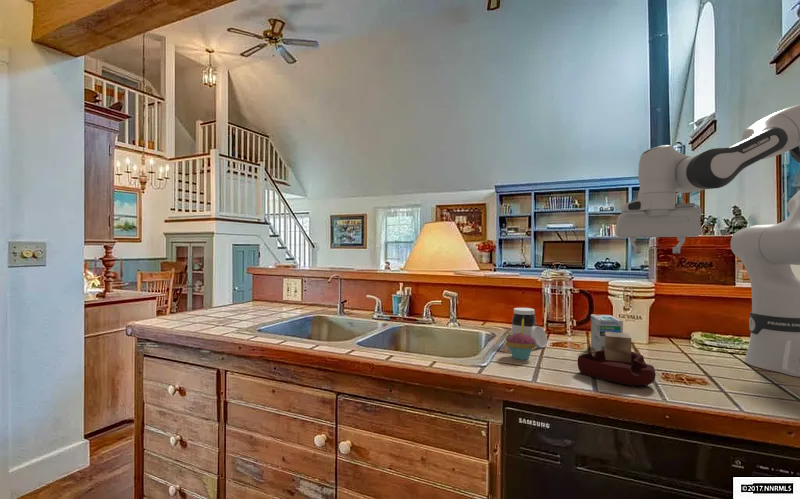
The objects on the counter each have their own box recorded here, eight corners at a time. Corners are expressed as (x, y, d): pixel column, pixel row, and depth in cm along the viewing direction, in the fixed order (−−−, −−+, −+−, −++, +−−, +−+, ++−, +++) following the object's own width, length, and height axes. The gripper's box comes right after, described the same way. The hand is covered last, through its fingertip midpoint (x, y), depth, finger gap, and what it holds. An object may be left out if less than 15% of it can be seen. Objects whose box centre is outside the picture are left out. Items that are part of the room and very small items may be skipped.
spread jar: (515, 338, 141) (515, 306, 141) (548, 342, 136) (548, 308, 136) (508, 346, 131) (508, 311, 130) (545, 350, 126) (545, 314, 126)
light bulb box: (623, 356, 119) (623, 320, 119) (599, 355, 120) (599, 320, 120) (612, 347, 129) (612, 314, 129) (589, 346, 131) (589, 313, 130)
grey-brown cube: (628, 356, 103) (628, 333, 103) (631, 362, 98) (631, 338, 98) (604, 354, 105) (604, 331, 105) (606, 359, 100) (606, 336, 100)
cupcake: (511, 352, 124) (511, 313, 124) (539, 356, 119) (539, 316, 119) (501, 358, 117) (501, 318, 117) (530, 363, 112) (530, 321, 112)
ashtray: (574, 364, 113) (574, 346, 113) (639, 369, 108) (639, 351, 107) (581, 385, 96) (581, 365, 96) (659, 393, 91) (659, 371, 91)
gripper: (697, 203, 111) (697, 253, 111) (614, 206, 119) (615, 253, 119) (705, 201, 105) (705, 253, 105) (617, 205, 113) (617, 253, 113)
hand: (656, 253), depth 112 cm, fingers open, 8 cm apart
